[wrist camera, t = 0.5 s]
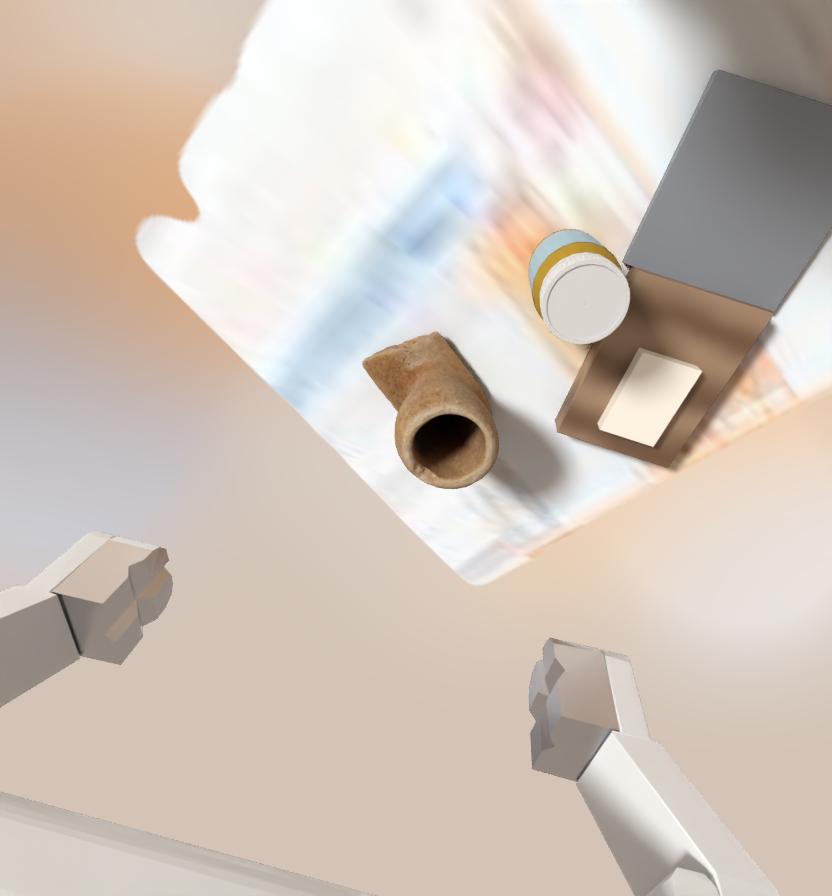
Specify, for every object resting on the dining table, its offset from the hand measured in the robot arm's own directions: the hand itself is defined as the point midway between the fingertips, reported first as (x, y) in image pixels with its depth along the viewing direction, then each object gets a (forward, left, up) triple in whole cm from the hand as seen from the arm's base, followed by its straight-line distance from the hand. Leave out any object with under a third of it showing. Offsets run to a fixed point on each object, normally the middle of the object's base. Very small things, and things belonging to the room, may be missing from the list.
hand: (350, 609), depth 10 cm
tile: (+7, +21, -42) cm, 48 cm away
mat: (-11, +21, -45) cm, 51 cm away
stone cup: (+14, +1, -45) cm, 47 cm away
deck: (+5, +21, -45) cm, 50 cm away
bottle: (-2, +9, -45) cm, 46 cm away
